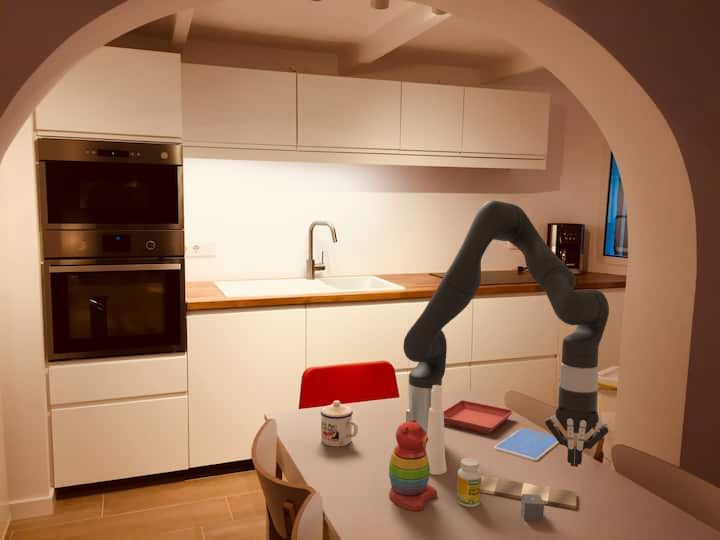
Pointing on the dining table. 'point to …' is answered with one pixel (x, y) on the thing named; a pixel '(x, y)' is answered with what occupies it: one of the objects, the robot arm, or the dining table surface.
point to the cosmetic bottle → (436, 433)
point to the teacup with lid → (337, 425)
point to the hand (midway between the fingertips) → (574, 464)
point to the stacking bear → (410, 468)
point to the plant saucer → (475, 416)
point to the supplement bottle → (469, 483)
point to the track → (528, 491)
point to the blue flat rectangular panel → (527, 444)
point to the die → (532, 507)
